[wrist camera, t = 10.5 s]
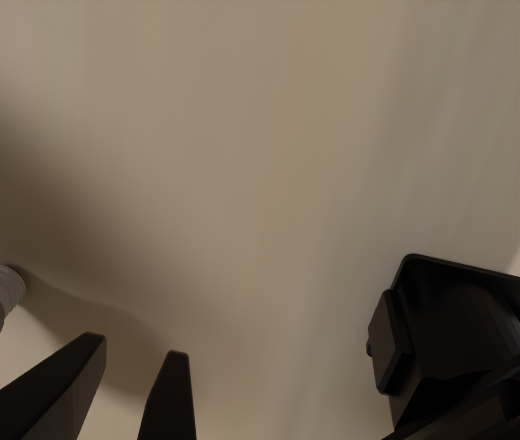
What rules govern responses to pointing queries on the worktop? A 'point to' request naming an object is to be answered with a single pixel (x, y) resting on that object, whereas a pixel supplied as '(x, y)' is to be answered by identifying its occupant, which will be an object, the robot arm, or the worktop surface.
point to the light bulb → (9, 291)
